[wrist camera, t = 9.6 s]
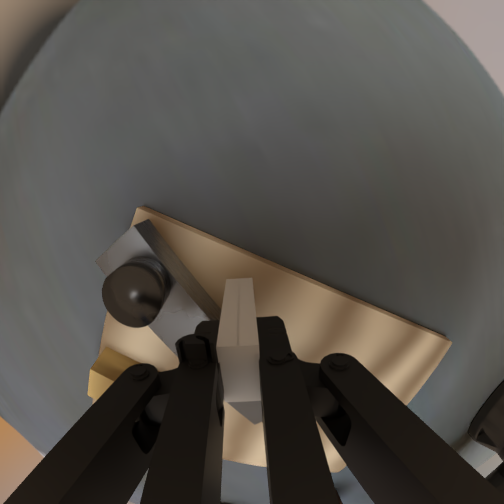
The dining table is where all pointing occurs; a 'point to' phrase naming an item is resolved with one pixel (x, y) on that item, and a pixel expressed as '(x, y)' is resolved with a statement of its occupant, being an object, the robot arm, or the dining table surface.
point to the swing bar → (158, 293)
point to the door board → (296, 323)
